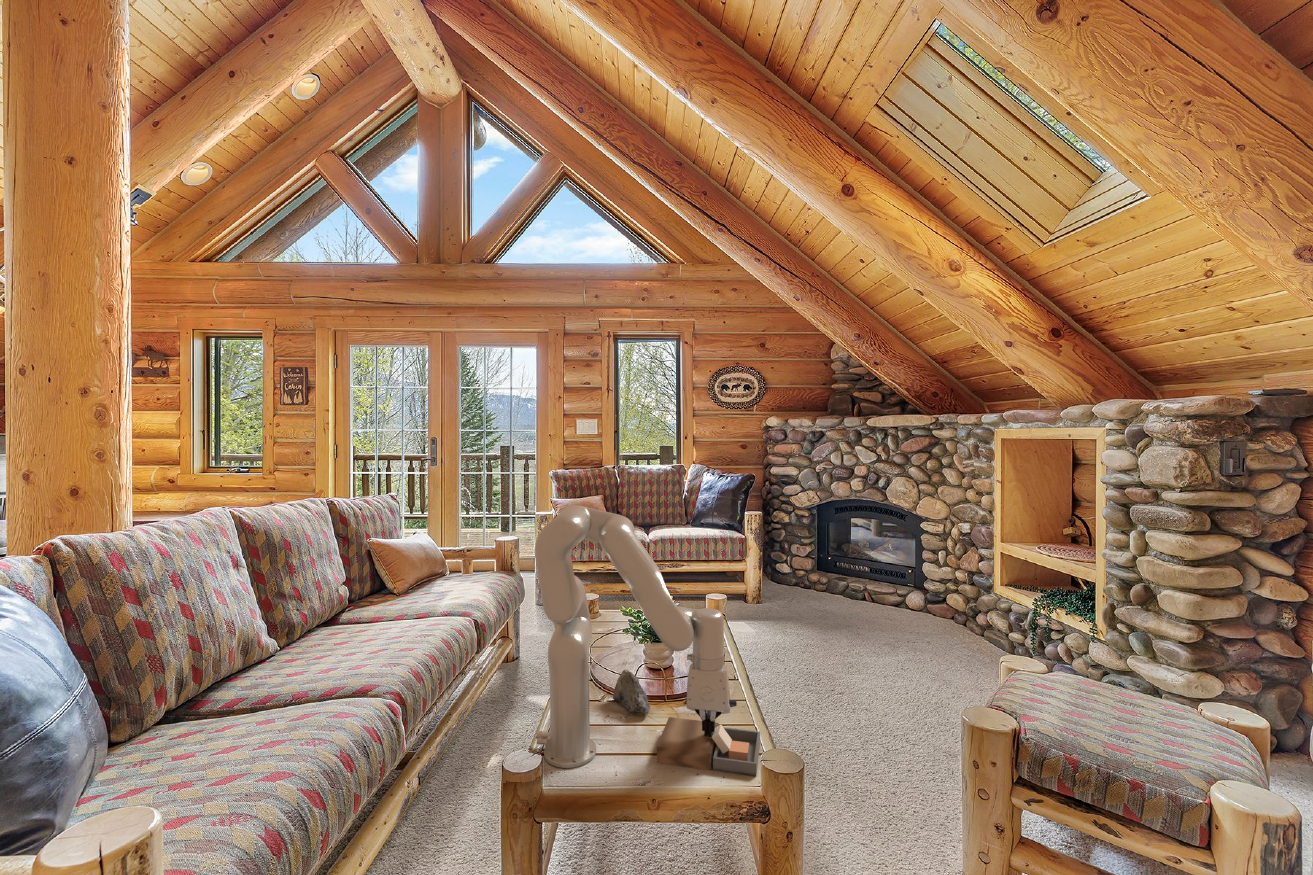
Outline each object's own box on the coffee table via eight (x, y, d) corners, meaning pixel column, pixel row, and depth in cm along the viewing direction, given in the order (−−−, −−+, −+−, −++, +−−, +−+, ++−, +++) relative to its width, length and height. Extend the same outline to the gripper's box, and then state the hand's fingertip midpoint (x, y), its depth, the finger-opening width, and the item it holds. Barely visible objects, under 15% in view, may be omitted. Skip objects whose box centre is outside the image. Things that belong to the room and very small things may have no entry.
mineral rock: (649, 720, 165) (649, 684, 164) (610, 720, 165) (609, 684, 164) (650, 697, 177) (650, 663, 177) (613, 697, 178) (613, 663, 177)
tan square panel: (656, 762, 145) (656, 746, 145) (668, 731, 159) (668, 716, 158) (710, 770, 142) (710, 753, 142) (718, 737, 156) (718, 722, 155)
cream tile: (711, 737, 147) (718, 733, 146) (714, 728, 151) (720, 724, 151) (723, 753, 146) (729, 749, 146) (725, 743, 151) (731, 739, 150)
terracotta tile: (747, 752, 145) (747, 761, 145) (749, 742, 149) (749, 750, 149) (728, 750, 146) (728, 758, 146) (730, 740, 150) (730, 748, 150)
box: (713, 770, 142) (713, 757, 142) (720, 738, 156) (720, 726, 155) (756, 776, 140) (756, 763, 140) (760, 743, 153) (760, 731, 153)
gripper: (675, 664, 146) (675, 738, 147) (737, 670, 143) (737, 745, 144) (681, 651, 153) (681, 722, 154) (740, 657, 150) (740, 729, 151)
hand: (708, 733), depth 149 cm, fingers closed
